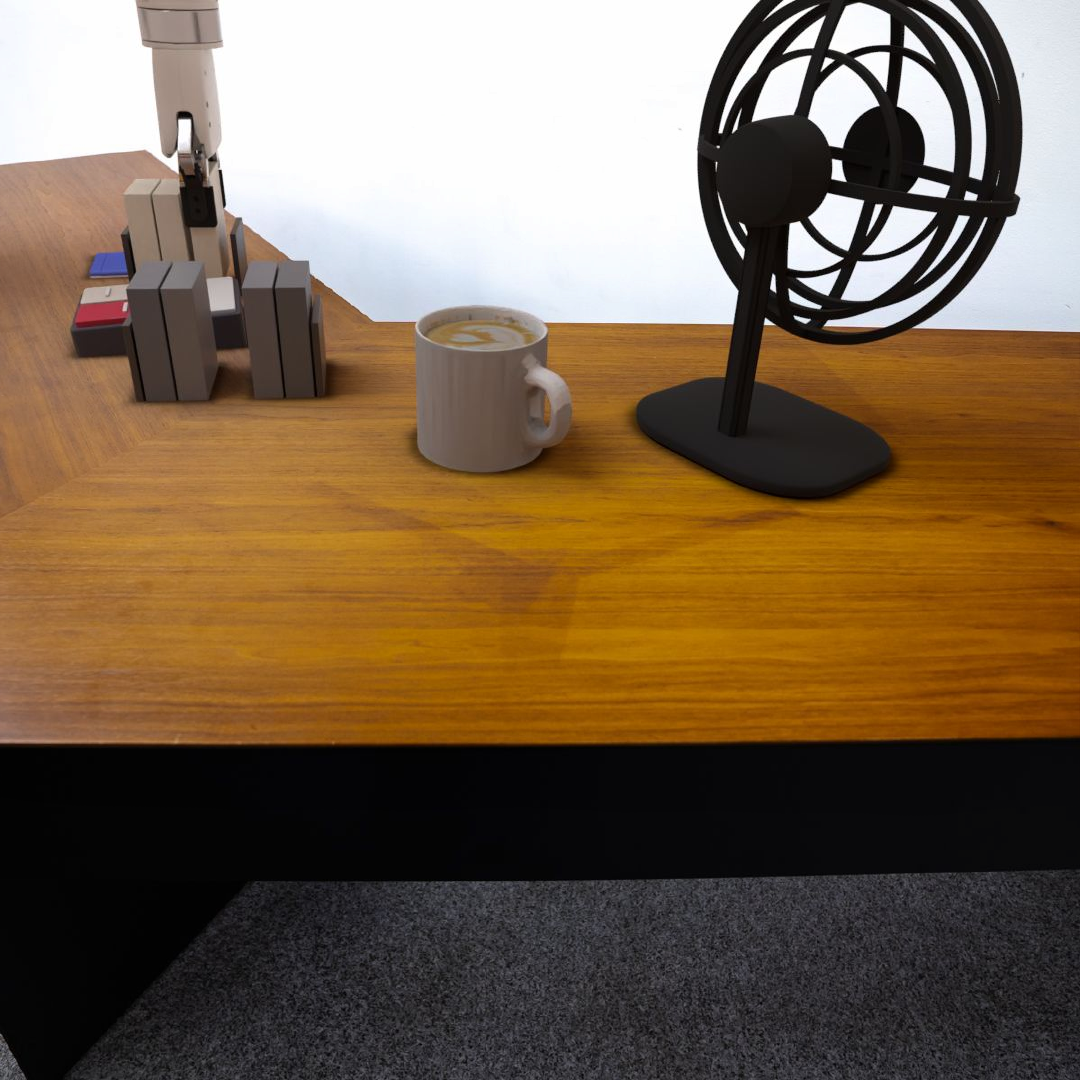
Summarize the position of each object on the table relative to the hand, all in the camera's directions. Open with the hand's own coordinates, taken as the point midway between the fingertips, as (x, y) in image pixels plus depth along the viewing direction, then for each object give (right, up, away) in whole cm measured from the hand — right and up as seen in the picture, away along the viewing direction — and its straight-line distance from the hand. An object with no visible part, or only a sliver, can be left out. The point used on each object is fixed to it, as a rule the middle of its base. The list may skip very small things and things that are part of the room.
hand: (206, 215), depth 104 cm
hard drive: (-10, -4, +10) cm, 14 cm away
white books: (-4, -7, +4) cm, 9 cm away
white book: (0, -5, +3) cm, 6 cm away
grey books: (+9, -21, -18) cm, 29 cm away
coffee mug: (+32, -28, -27) cm, 50 cm away
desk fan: (+54, -26, -22) cm, 64 cm away
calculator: (-1, -15, -8) cm, 17 cm away
